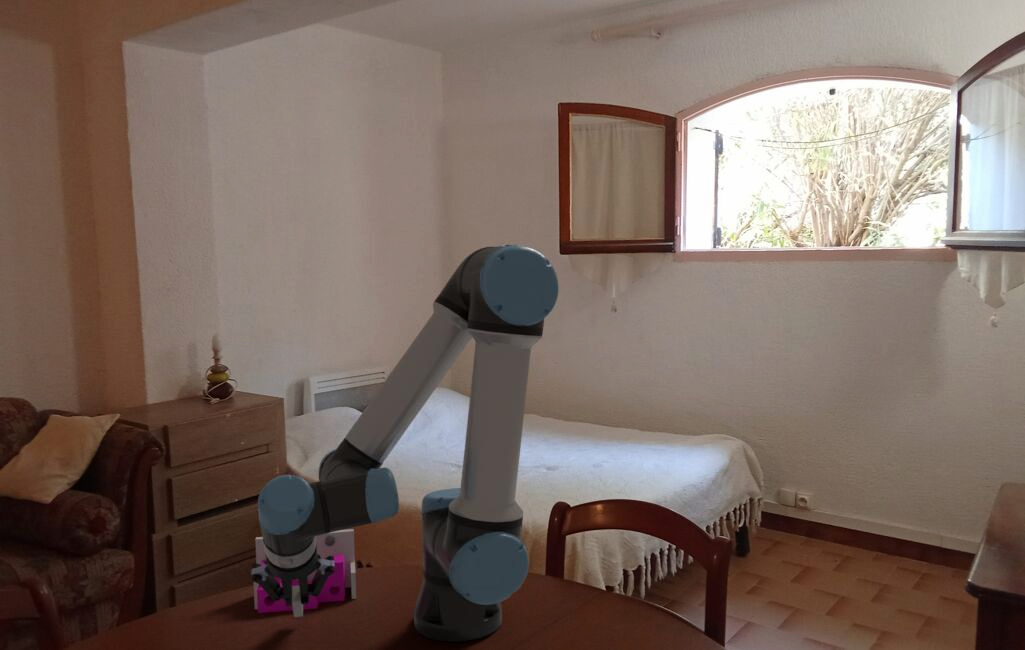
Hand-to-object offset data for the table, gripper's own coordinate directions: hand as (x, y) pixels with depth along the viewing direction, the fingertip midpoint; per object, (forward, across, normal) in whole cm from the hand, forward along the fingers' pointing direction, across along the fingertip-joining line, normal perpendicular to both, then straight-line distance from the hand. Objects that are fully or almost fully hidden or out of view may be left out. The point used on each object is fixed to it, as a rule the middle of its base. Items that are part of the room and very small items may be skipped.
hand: (298, 609), depth 135 cm
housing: (+10, +1, +6) cm, 12 cm away
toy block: (+8, 0, +4) cm, 9 cm away
